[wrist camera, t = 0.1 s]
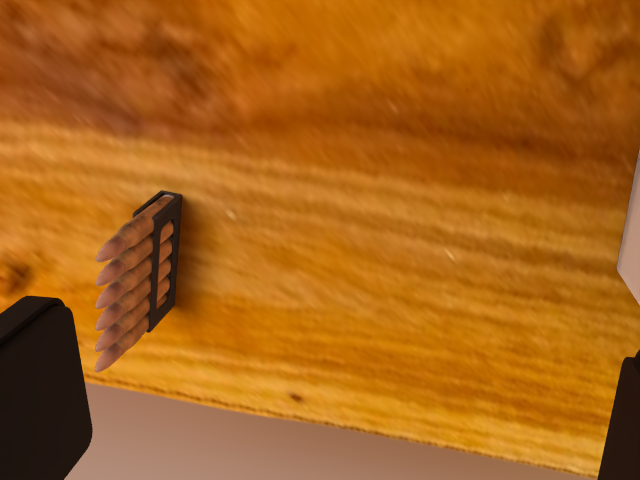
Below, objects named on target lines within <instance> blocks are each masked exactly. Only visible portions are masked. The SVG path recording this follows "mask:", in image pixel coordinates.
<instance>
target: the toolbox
mask: <svg viewBox="0 0 640 480" xmlns="http://www.w3.org/2000/svg"><path fill="white" fill-rule="evenodd" d="M616 269H617V271H618V272H619V274H620V275H621V277H622V279H623V280H624V282H625V283H626V285H627V286H628V288H629V289H630V291H631V292H632V294H633V296H634V297H635V299H636V300H637V302H638V303H639V305H640V149H639V154H638V159H637V164H636V170H635V175H634V180H633V185H632V190H631V195H630V201H629V206H628V211H627V216H626V221H625V227H624V232H623V237H622V242H621V247H620V253H619V258H618V263H617V268H616Z"/></svg>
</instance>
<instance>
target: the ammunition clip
mask: <svg viewBox="0 0 640 480" xmlns="http://www.w3.org/2000/svg"><path fill="white" fill-rule="evenodd" d="M181 203H182V195H180V194H176V193H171V192H166V191H162V190H161V191H160V192H159V193H157V194H156V195H155V196H154V197H153V198H151V199H150V200H149V201H148V202H146V203H145V204H144V205H143V206H141V207H140V208H139V209H138V210H136V211H135V212H134V213H133V219H131V220H130V221H129V222H127V223H126V224H125V225H123V226H122V227H121V228H120V229H119V230H118V232H117V233H116V234H115V235H114V236H113V237H112V238H111V239H110V240H109V241H108V242H106V243H105V244H104V245H103V247H102V248H101V249H100V251H99V252H98V254H97V257H96V261H97V262H104V261H107V260H110V259H112V258H113V259H112V260H111V262H110V263H109V264H107V265H106V266H105V267H104V268H103V270H102V271H101V272H100V274H99V275H98V277H97V280H96V285H97V286H102V285H105V284H108V283H110V282H111V283H110V285H109V286H107V287H106V288H105V289H104V291H103V292H102V293H101V295H100V296H99V298H98V300H97V302H96V309H101V308H104V307H107V306H108V307H107V308H106V309H105V310H104V312H103V313H102V314H101V316H100V317H99V319H98V321H97V323H96V327H95V330H97V331H99V330H103V329H105V328H106V329H105V330H104V332H103V333H102V334H101V336H100V338H99V339H98V341H97V344H96V346H95V351H96V352H99V351H102V350H104V351H103V353H102V354H101V356H100V357H99V359H98V361H97V363H96V366H95V372H100V371H103V370H104V369H106V368H108V367H109V366H111V365H112V364H113V363H114V362H115V361H116V360H117V359H118V358H119V357H120V356H121V355H123V354H124V353H125V352H126V351H127V350H128V349H130V348H131V347H132V346H133V345H134V344H135V343H136V342H137V341H138V340H139V339H140V338H141V336H142V335H143V334H144V333H145V332H148V333H150V332H151V331H152V330H153V329H154V327H155V326H156V325H157V324H158V323H159V322H160V321H161V320H162V318H163V317H164V316H165V315H166V314H167V313H168V312H169V311H170V310H171V308H172V307H173V306H174V303H175V288H176V274H177V260H178V246H179V231H180V217H181ZM114 257H115V258H114Z"/></svg>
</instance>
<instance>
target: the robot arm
mask: <svg viewBox="0 0 640 480" xmlns="http://www.w3.org/2000/svg"><path fill="white" fill-rule="evenodd" d="M91 438H92V423H91V417H90V411H89V405H88V400H87V394H86V388H85V382H84V376H83V371H82V365H81V359H80V353H79V347H78V342H77V336H76V330H75V324H74V318H73V314H72V311H71V310H70V308H68V307H65V305H64V303H63V302H62V300H60V299H59V298H50V297H39V296H25V297H23V298H21V299H20V300H19V301H17V302H16V303H15V304H13V305H12V306H11V307H9V308H8V309H6V310H5V311H4V312H2V313H1V314H0V480H64V478H65V477H66V476H67V475H68V473H69V472H70V471H71V470H72V468H73V467H74V466H75V464H76V463H77V462H78V461H79V459H80V458H81V457H82V455H83V454H84V453H85V451H86V450H87V448H88V447H89V445H90V442H91ZM598 480H640V350H639V351H638V352H637V354H636V356H635V357H626V358H625V359H624V361H623V363H622V367H621V371H620V376H619V381H618V386H617V390H616V395H615V400H614V404H613V409H612V414H611V419H610V423H609V428H608V433H607V437H606V442H605V447H604V451H603V456H602V461H601V466H600V470H599V475H598Z"/></svg>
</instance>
